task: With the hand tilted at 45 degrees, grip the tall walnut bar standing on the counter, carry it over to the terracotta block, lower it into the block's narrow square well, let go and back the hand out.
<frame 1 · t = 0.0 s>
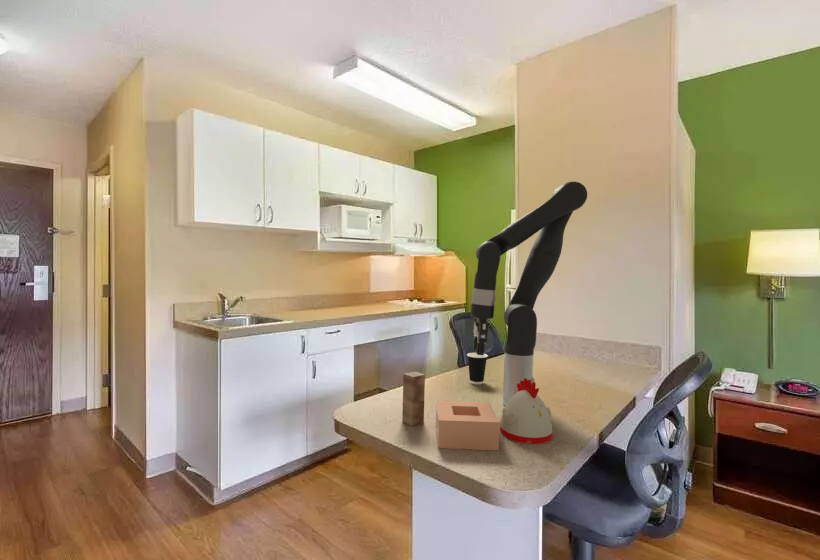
hand: (478, 352, 137), 17 cm above the table, tool pointing down, fingers open, 8 cm apart
walnut bar: (413, 422, 120), on the table
kitchen timer: (525, 433, 114), on the table
terracotta well block: (465, 436, 111), on the table
dixie cup: (476, 383, 162), on the table
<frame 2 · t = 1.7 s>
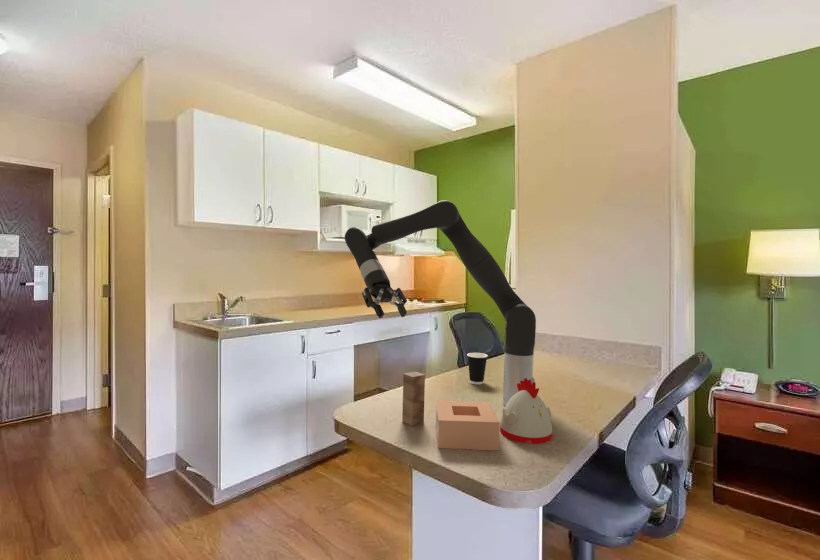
hand: (393, 316, 128), 29 cm above the table, tool tilted 45°, fingers open, 8 cm apart
nothing on the table moved.
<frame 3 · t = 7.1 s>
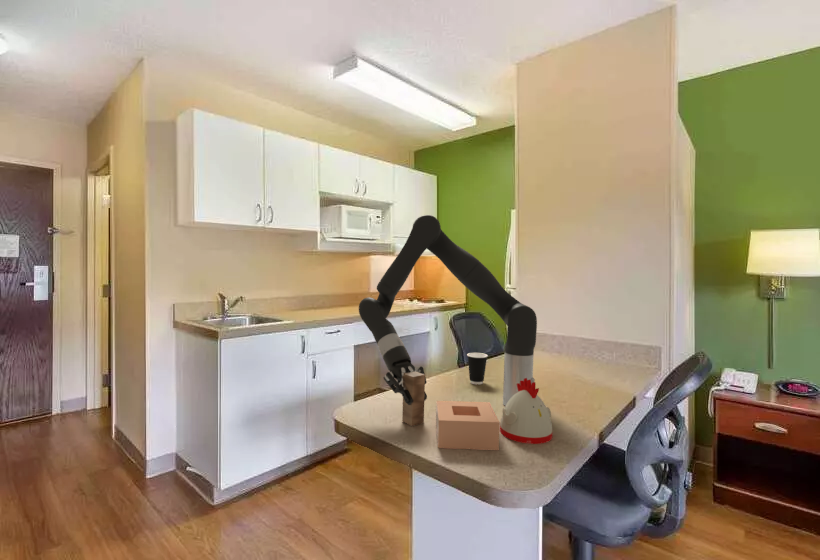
hand: (417, 401, 118), 6 cm above the table, tool tilted 45°, fingers closed on walnut bar, 4 cm apart
walnut bar: (413, 422, 120), on the table, touching gripper
everything else where it was.
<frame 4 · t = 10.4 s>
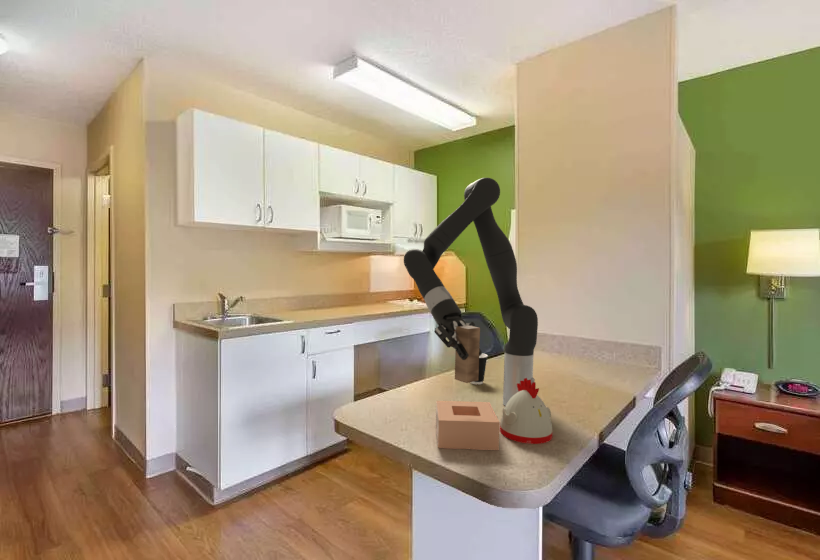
hand: (472, 356, 108), 22 cm above the table, tool tilted 45°, fingers closed on walnut bar, 4 cm apart
walnut bar: (466, 379, 110), point 15 cm above the table, touching gripper
everything else where it was.
when the fingers open (9 cm above the table, at t = 14.1 s): walnut bar drops 1 cm, resting on terracotta well block.
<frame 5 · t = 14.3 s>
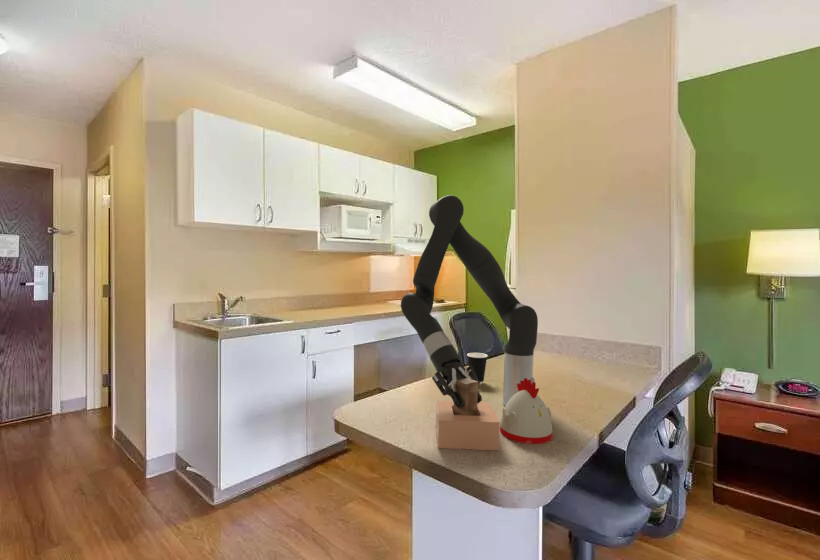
hand: (470, 404, 109), 9 cm above the table, tool tilted 45°, fingers open, 6 cm apart
walnut bar: (464, 433, 111), point 1 cm above the table, touching terracotta well block
everything else where it was.
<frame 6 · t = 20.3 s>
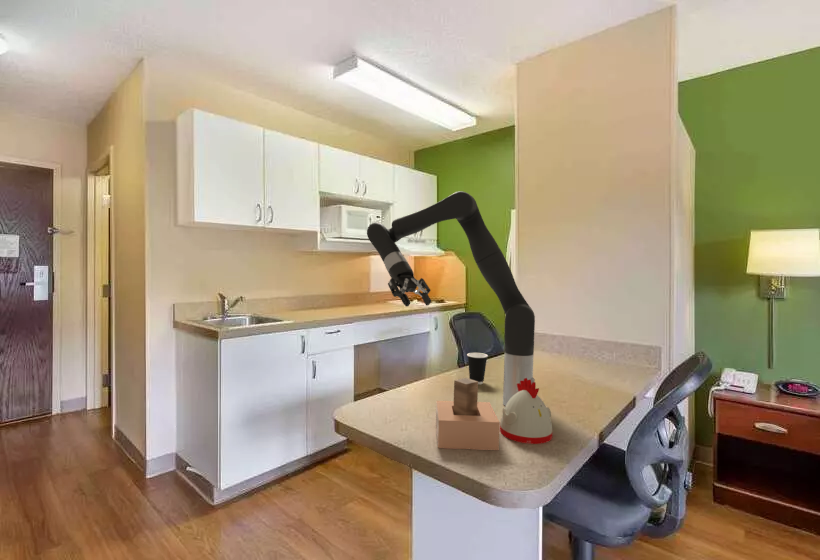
hand: (418, 304, 134), 33 cm above the table, tool tilted 45°, fingers open, 8 cm apart
nothing on the table moved.
at the end: walnut bar 0.2 cm off-centre on the terracotta well block, point 1.0 cm above the terracotta well block's base; walnut bar tilted 0°; the gripper is holding nothing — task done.
